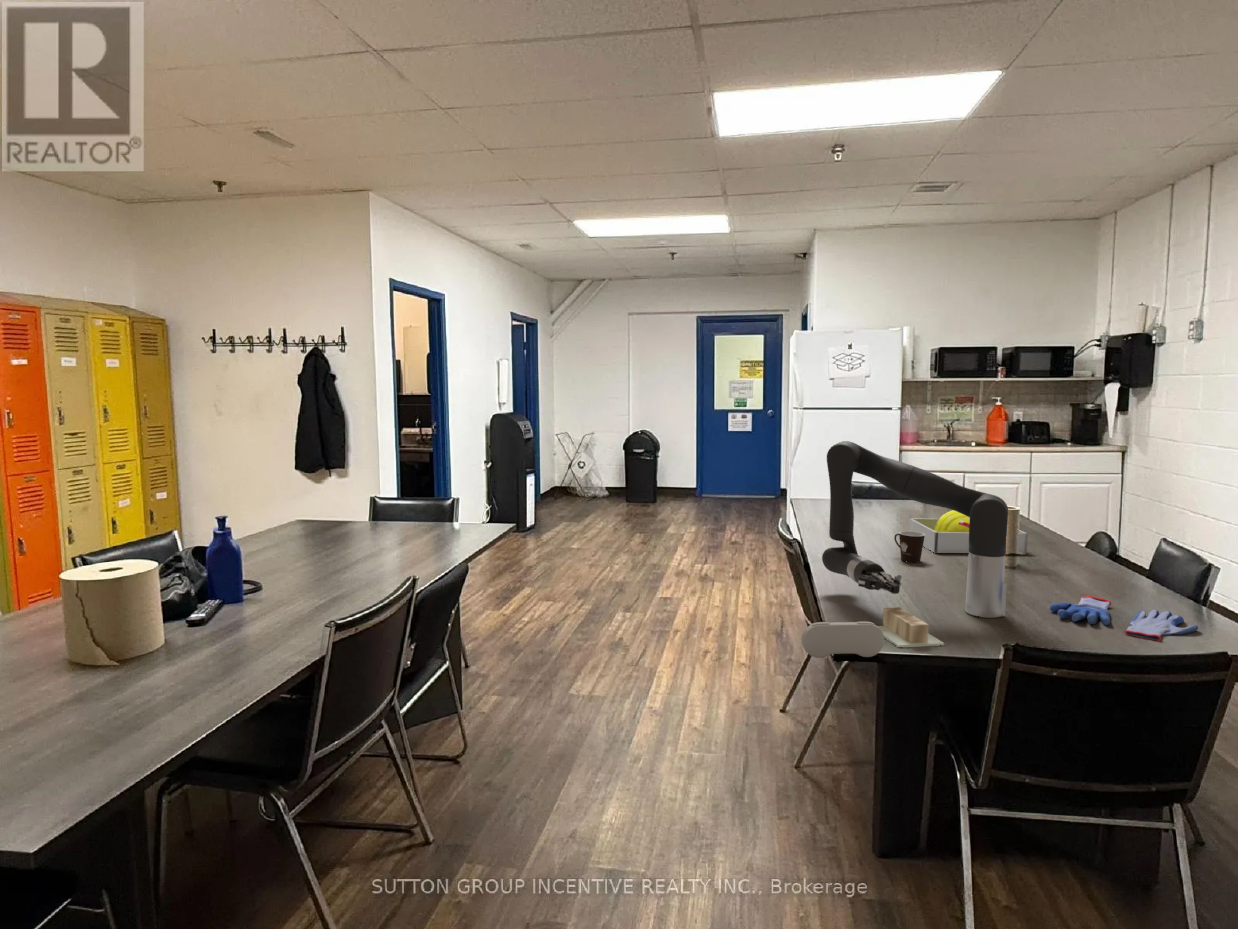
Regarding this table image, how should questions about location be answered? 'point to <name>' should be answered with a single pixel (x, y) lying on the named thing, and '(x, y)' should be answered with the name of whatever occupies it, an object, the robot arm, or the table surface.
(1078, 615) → the pair of gloves
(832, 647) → the game controller
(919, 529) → the grey crate
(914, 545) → the coffee mug
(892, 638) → the felt mat
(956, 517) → the hard hat
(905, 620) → the beech block
